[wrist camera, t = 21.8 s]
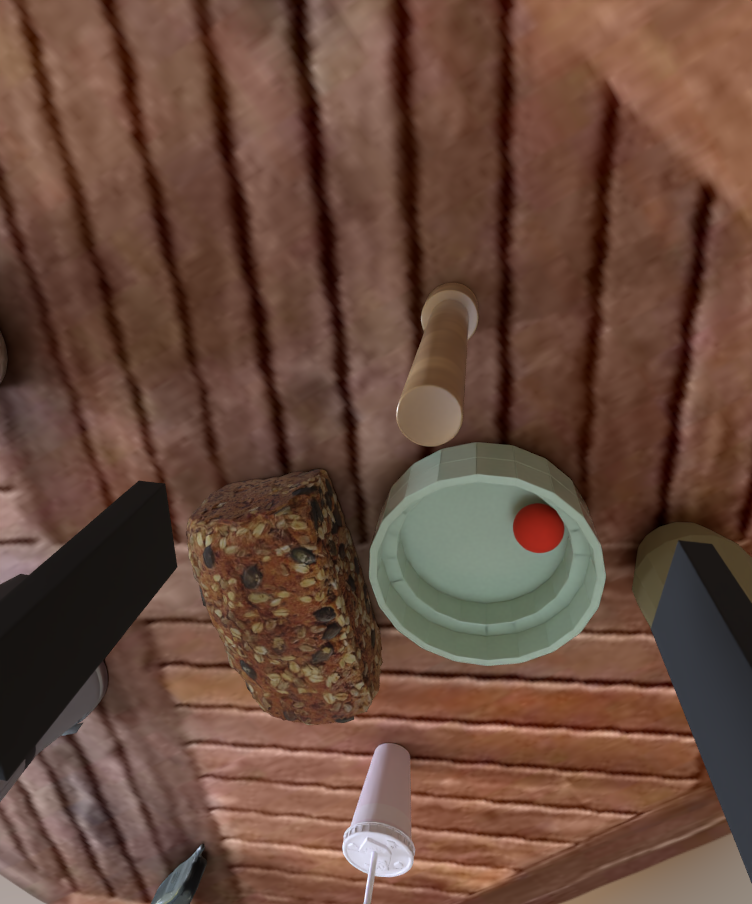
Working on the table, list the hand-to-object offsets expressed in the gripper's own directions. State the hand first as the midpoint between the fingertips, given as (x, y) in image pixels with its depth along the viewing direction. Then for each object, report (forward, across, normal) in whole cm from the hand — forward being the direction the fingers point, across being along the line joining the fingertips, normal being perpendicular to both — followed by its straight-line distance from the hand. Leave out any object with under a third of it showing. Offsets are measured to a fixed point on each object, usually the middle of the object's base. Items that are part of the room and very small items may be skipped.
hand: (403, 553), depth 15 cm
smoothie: (+27, +2, +44) cm, 52 cm away
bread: (+27, +10, +21) cm, 36 cm away
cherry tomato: (+24, -8, +14) cm, 29 cm away
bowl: (+27, -4, +16) cm, 31 cm away
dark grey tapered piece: (+27, +28, +72) cm, 82 cm away
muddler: (+27, 0, -1) cm, 27 cm away
